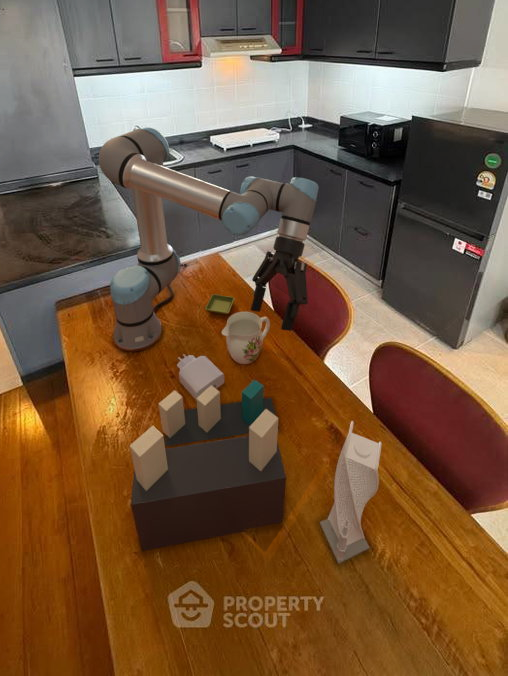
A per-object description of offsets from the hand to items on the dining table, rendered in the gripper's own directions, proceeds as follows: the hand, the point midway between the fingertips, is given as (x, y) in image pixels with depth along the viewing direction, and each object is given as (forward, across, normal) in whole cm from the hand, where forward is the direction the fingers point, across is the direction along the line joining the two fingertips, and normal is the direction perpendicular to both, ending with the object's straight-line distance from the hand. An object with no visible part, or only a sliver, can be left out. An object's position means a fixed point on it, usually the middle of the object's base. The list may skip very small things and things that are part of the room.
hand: (269, 319), depth 96 cm
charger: (+25, +20, +4) cm, 32 cm away
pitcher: (+17, +19, -11) cm, 28 cm away
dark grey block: (+29, +5, +3) cm, 29 cm away
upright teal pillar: (+26, +1, -4) cm, 26 cm away
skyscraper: (+33, -28, -10) cm, 44 cm away
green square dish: (+10, +42, -11) cm, 44 cm away
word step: (+38, -11, +11) cm, 41 cm away
